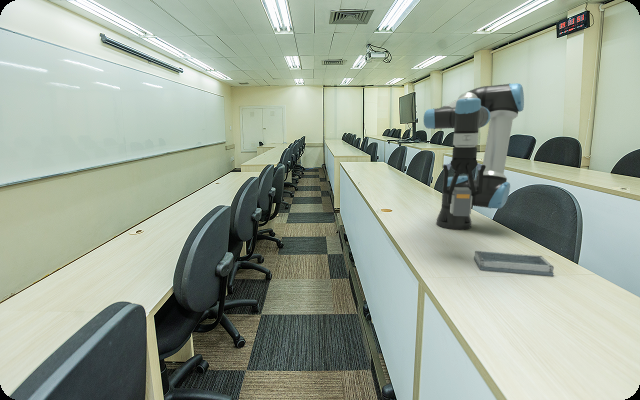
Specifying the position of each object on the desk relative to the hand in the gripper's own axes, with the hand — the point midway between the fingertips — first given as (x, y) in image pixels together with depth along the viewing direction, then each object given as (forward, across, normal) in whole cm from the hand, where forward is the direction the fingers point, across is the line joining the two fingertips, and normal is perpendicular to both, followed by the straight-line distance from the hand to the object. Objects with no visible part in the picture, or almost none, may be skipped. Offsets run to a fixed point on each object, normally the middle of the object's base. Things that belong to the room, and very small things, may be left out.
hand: (460, 212), depth 112 cm
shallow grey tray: (+15, +15, -10) cm, 23 cm away
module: (0, 0, 0) cm, 0 cm away
